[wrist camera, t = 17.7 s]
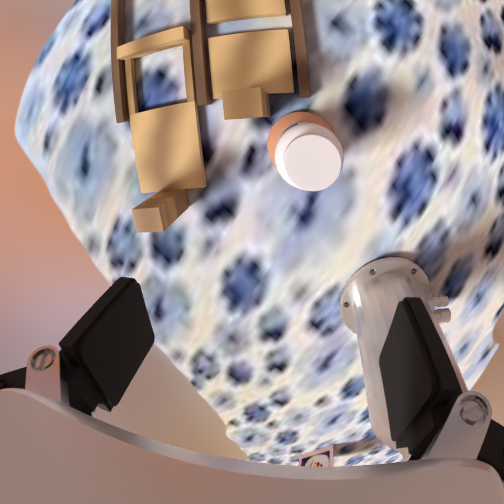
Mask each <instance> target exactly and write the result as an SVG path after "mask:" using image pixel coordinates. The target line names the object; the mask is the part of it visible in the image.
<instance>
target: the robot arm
mask: <svg viewBox="0 0 504 504" xmlns="http://www.w3.org/2000/svg"><path fill="white" fill-rule="evenodd" d="M371 269H372V270H371ZM447 305H448V296H438V297H434V296H433V295H431V294H430V284H429V281H428V278H427V276H426V274H425V273H424V271H423V270H422V269H421V267H420V266H419V265H417V264H416V263H415V262H413V261H411V260H409V259H406V258H401V257H387V258H382V259H378V260H376V261H373V262H370V263H369V264H367V265H365V266H363V267H362V268H361V269H359V270H358V271H357V272H356V273H354V275H353V276H352V277H351V278H350V279H349V280H348V282H347V283H346V285H345V286H344V288H343V291H342V293H341V297H340V313H341V317H342V319H343V322H344V324H345V325H346V326H347V327H348V328H349V329H350V330H351V331H352V332H354V333H356V334H357V338H358V343H359V349H360V355H361V361H362V367H363V373H364V380H365V387H366V394H367V402H368V409H369V418H370V423H371V426H372V429H373V431H374V433H375V435H376V436H377V437H378V438H379V440H380V441H382V442H383V443H384V444H386V445H387V446H389V447H390V448H392V449H394V450H396V451H398V452H399V453H401V454H402V455H403V460H402V461H401V462H396V463H388V464H377V465H363V466H341V467H309V466H289V465H276V464H266V463H257V462H249V461H241V460H236V459H229V458H224V457H219V456H213V455H209V454H204V453H199V452H195V451H190V450H187V449H183V448H179V447H175V446H172V445H168V444H165V443H161V442H158V441H155V440H152V439H149V438H145V437H142V436H139V435H137V434H134V433H131V432H128V431H126V430H123V429H120V428H118V427H115V426H112V425H110V424H108V423H105V422H103V421H100V420H98V419H97V416H96V411H95V409H96V407H97V405H98V407H99V408H101V409H104V410H106V411H109V412H111V410H112V408H113V406H116V405H117V404H118V403H119V401H120V400H121V398H122V396H123V394H124V392H125V391H126V389H127V387H128V386H129V384H130V382H131V380H132V379H133V377H134V375H135V374H136V372H137V370H138V368H139V367H140V365H141V363H142V362H143V360H144V358H145V357H146V355H147V353H148V352H149V350H150V348H151V346H152V345H153V343H154V339H155V337H154V332H153V329H152V326H151V323H150V319H149V316H148V312H147V309H146V305H145V302H144V298H143V294H142V291H141V287H140V284H139V283H137V281H136V280H135V279H134V278H127V277H120V278H119V279H118V280H117V281H116V282H115V283H114V284H113V285H112V286H111V287H110V288H109V289H108V290H107V291H106V292H105V293H104V294H103V295H102V296H101V297H100V298H99V299H98V300H97V301H96V302H95V303H94V305H93V306H92V307H91V308H90V309H89V310H88V311H87V312H86V313H85V314H84V315H83V316H82V318H81V319H80V320H79V321H78V322H77V323H76V324H75V325H74V326H73V328H72V329H71V330H70V331H69V332H68V333H67V335H66V336H65V337H64V338H63V339H62V340H61V341H60V342H59V345H60V347H61V350H60V352H59V351H58V350H57V348H55V347H54V346H49V345H48V346H43V347H40V348H38V349H37V350H35V351H34V352H33V353H32V354H31V355H30V357H29V359H28V362H27V367H24V368H21V369H18V370H14V371H11V372H8V373H4V374H2V375H0V504H504V427H503V426H502V425H500V424H499V423H497V422H495V421H494V420H492V419H491V416H492V409H491V405H490V403H489V401H488V400H487V399H486V397H484V396H483V395H482V394H480V393H478V392H475V391H468V390H467V387H466V384H465V382H464V379H463V377H462V374H461V372H460V369H459V367H458V365H457V362H456V360H455V358H454V355H453V353H452V351H451V349H450V346H449V344H448V342H447V340H446V338H445V336H444V333H443V331H442V329H441V327H440V325H439V323H445V322H449V321H450V318H451V312H450V309H449V308H445V309H437V310H432V309H433V307H434V306H438V307H440V306H447Z"/></svg>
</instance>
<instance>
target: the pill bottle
mask: <svg viewBox="0 0 504 504" xmlns="http://www.w3.org/2000/svg"><path fill="white" fill-rule="evenodd" d="M343 161H344V154H343V149H342V146H341V144H340V141H339V140H338V138H337V137H336V136H335V135H334V134H333V133H332V132H331V131H330V130H328V129H327V128H325V127H323V126H321V125H318V124H314V123H309V122H300V123H296V124H293V125H291V126H289V127H288V128H287V129H286V130H285V131H284V132H283V133H282V135H281V136H280V138H279V140H278V143H277V145H276V149H275V163H276V166H277V169H278V171H279V173H280V175H281V176H282V177H283V178H284V180H285V181H286V182H288V183H289V184H290V185H292V186H294V187H296V188H299V189H302V190H308V191H319V190H323V189H325V188H327V187H329V186H330V185H332V184H333V183H334V182H335V181H336V179H337V178H338V176H339V174H340V172H341V170H342V167H343Z"/></svg>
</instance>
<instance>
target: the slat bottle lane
mask: <svg viewBox="0 0 504 504" xmlns="http://www.w3.org/2000/svg"><path fill="white" fill-rule="evenodd" d="M181 45H182V46H183V60H184V72H185V84H186V95H187V102H186V103H181V104H175V105H170V106H166V107H161V108H156V109H152V110H148V111H144V112H140V113H139V111H138V102H137V91H136V79H135V65H134V59H135V58H138V57H141V56H145V55H148V54H151V53H154V52H158V51H161V50H165V49H169V48H173V47H177V46H181ZM117 59H122V60H125V72H126V85H127V97H128V107H129V116H130V124H131V132H132V139H133V146H134V153H135V159H136V166H137V171H138V177H139V183H140V188H141V193H148V192H158V191H159V192H158V193H156V194H155V195H153V196H152V197H150V198H149V199H147V200H146V201H144V202H143V203H141V204H140V205H138V206H137V207H135V208H134V209H132V211H133V215H134V220H135V224H136V228H137V232H162V231H165V230H166V229H167V228H168V227H169V226H170V225H171V224H172V223H173V222H174V221H175V220H176V219H177V218H178V217H179V216H180V215H181V214H182V213H183V212H184V211H185V210H186V209H188V208H189V205H188V198H187V192H186V189H191V188H204V187H206V186H207V185H206V177H205V169H204V161H203V152H202V144H201V135H200V126H199V116H198V106H197V96H196V85H195V74H194V62H193V49H192V34H191V31H190V30H188V29H187V28H186V27H184V26H181V27H177V28H173V29H169V30H166V31H162V32H159V33H156V34H152V35H149V36H146V37H143V38H140V39H137V40H135V41H132V42H129V43H126V44H124V45H121V46H119V47H117Z"/></svg>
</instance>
